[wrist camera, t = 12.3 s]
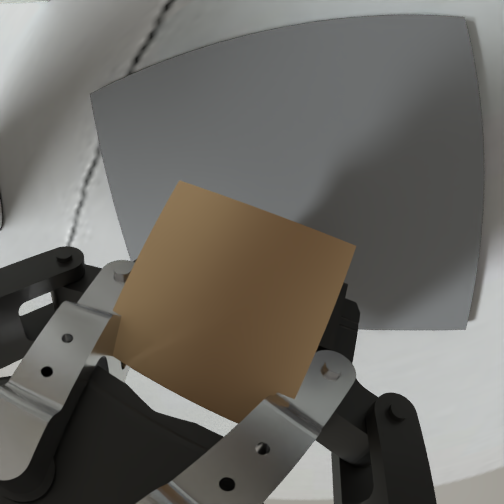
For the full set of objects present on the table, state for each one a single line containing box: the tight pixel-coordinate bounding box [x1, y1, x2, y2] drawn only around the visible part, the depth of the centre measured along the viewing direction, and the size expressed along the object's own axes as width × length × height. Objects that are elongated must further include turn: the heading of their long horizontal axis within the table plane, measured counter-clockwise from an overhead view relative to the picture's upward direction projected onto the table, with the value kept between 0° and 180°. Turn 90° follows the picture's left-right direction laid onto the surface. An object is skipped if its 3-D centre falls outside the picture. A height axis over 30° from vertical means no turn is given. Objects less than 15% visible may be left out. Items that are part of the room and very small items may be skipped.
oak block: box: [112, 180, 356, 424], centre depth 11 cm, size 4×4×9 cm
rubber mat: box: [90, 15, 484, 330], centre depth 15 cm, size 20×15×1 cm
